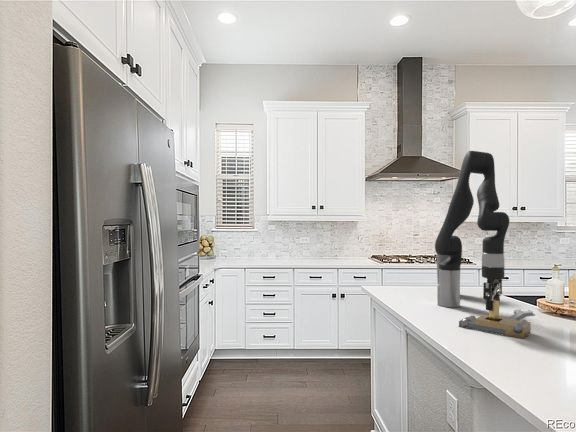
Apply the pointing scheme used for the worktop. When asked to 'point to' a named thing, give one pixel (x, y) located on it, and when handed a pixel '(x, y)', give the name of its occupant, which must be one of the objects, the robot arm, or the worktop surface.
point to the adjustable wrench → (520, 314)
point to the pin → (494, 311)
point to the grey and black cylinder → (440, 259)
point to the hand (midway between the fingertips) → (492, 308)
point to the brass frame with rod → (498, 325)
